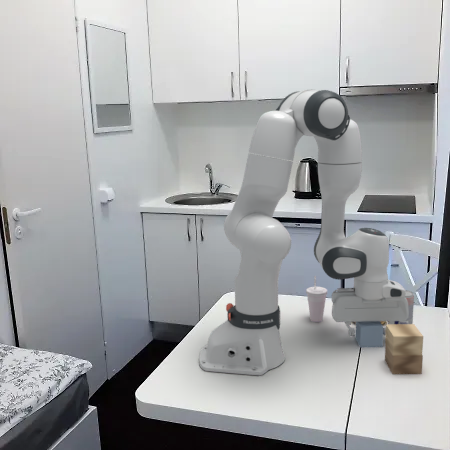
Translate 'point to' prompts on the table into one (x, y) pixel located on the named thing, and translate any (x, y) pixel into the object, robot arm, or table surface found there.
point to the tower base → (403, 363)
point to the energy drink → (410, 299)
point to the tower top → (403, 339)
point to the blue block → (369, 334)
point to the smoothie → (316, 302)
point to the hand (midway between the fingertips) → (368, 335)
